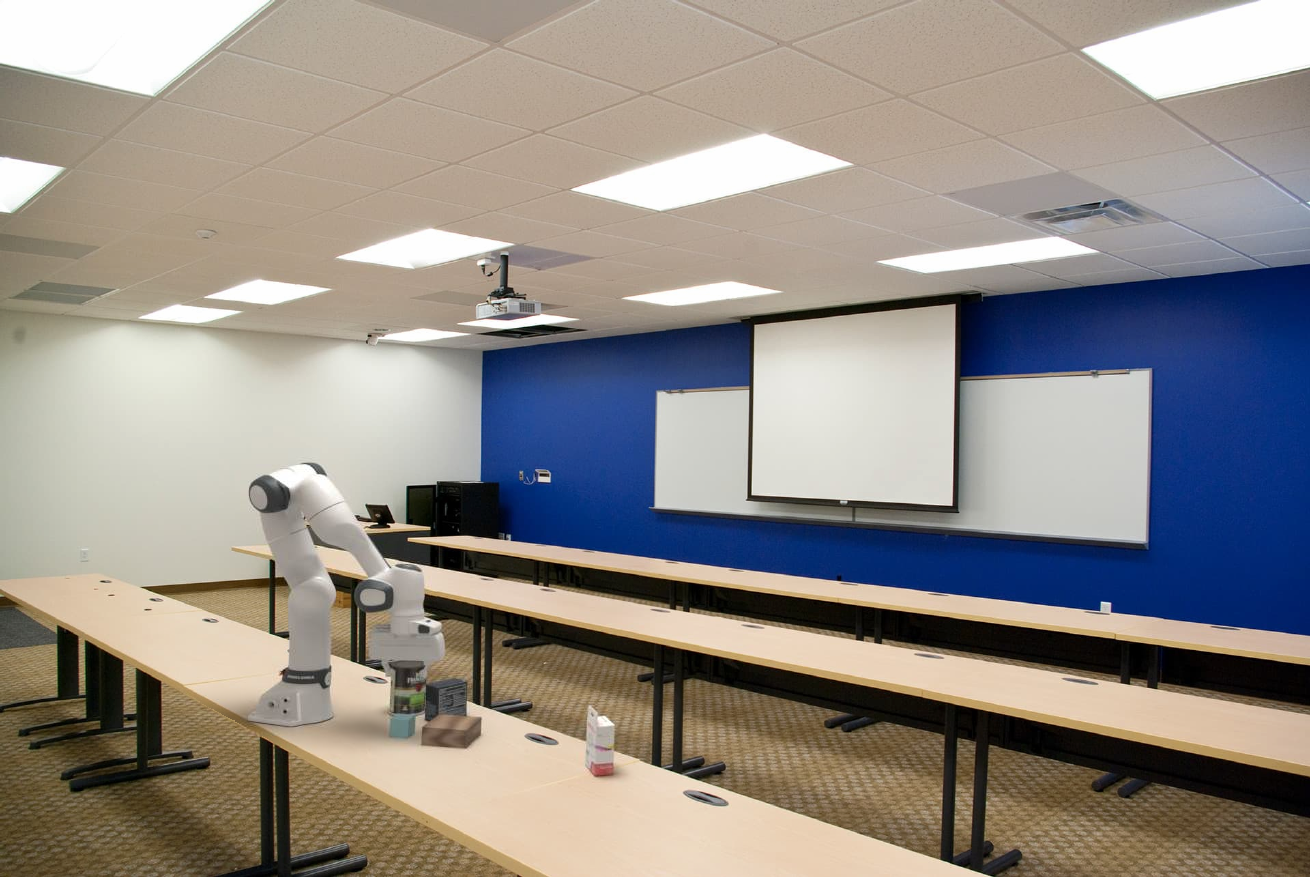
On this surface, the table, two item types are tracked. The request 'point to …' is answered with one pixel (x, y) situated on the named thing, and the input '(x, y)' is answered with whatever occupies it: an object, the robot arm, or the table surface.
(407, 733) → the teal cube
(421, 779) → the table surface
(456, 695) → the small box
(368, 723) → the table surface
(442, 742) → the walnut base block
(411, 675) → the coffee can
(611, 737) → the ink cartridge box
